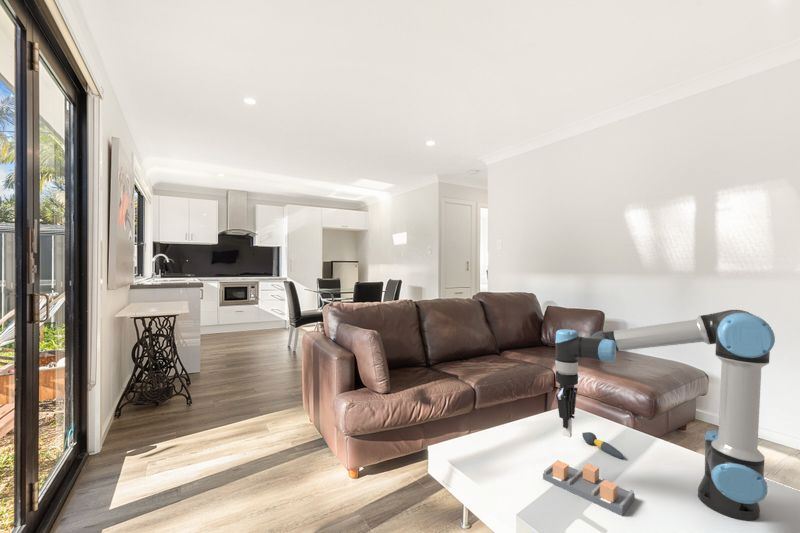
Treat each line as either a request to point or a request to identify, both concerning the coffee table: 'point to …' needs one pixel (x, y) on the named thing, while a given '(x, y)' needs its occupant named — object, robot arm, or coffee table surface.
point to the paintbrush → (601, 445)
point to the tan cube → (560, 470)
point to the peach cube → (590, 473)
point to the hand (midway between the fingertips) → (567, 435)
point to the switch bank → (590, 490)
